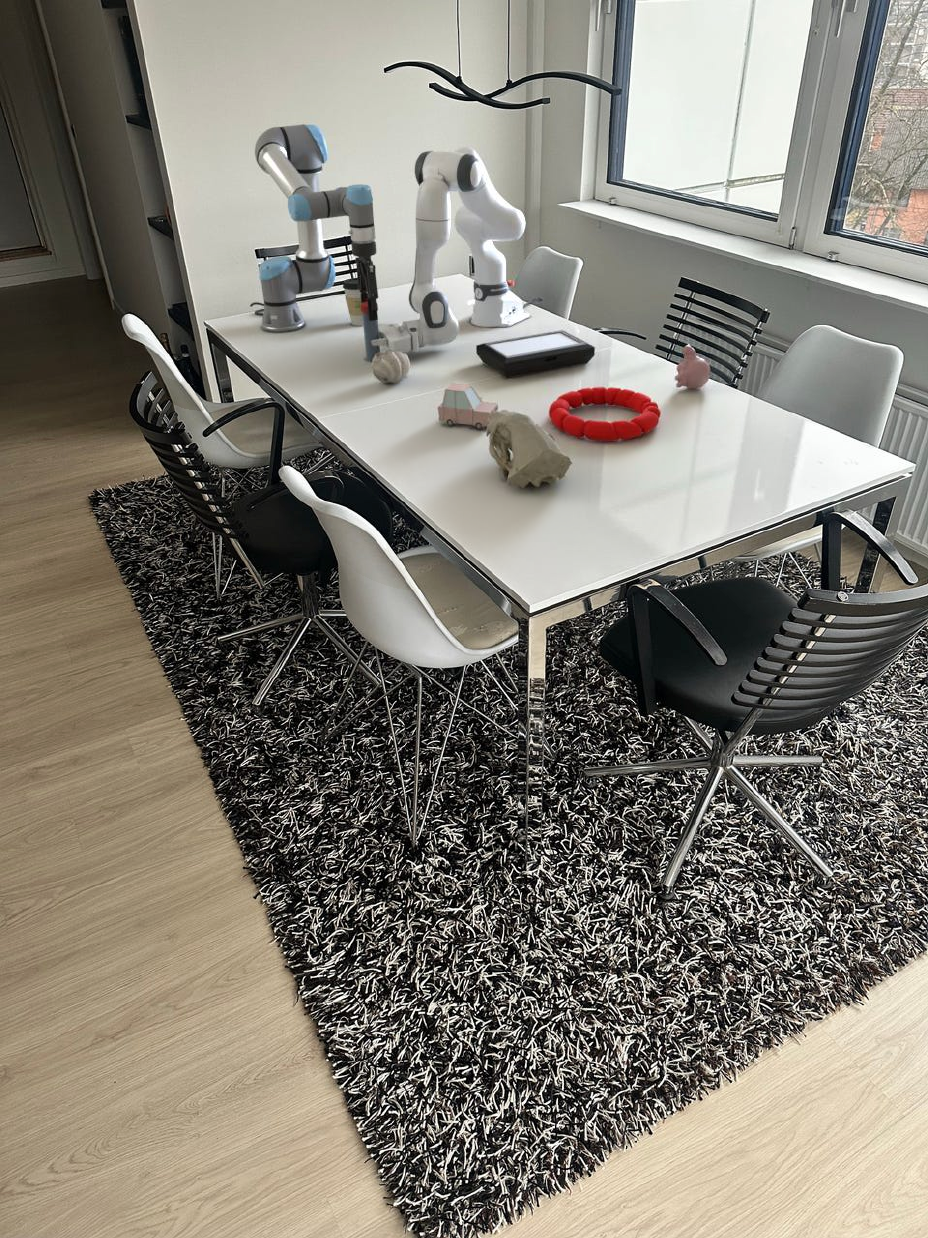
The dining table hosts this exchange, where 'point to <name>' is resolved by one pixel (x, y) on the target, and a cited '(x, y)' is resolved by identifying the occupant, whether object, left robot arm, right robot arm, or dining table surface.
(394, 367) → the seashell
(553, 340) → the electronic device
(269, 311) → the left robot arm
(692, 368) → the figurine
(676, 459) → the dining table surface
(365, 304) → the lid
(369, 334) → the jar
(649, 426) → the decorative ring
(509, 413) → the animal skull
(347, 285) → the coffee cup
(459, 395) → the toy car
